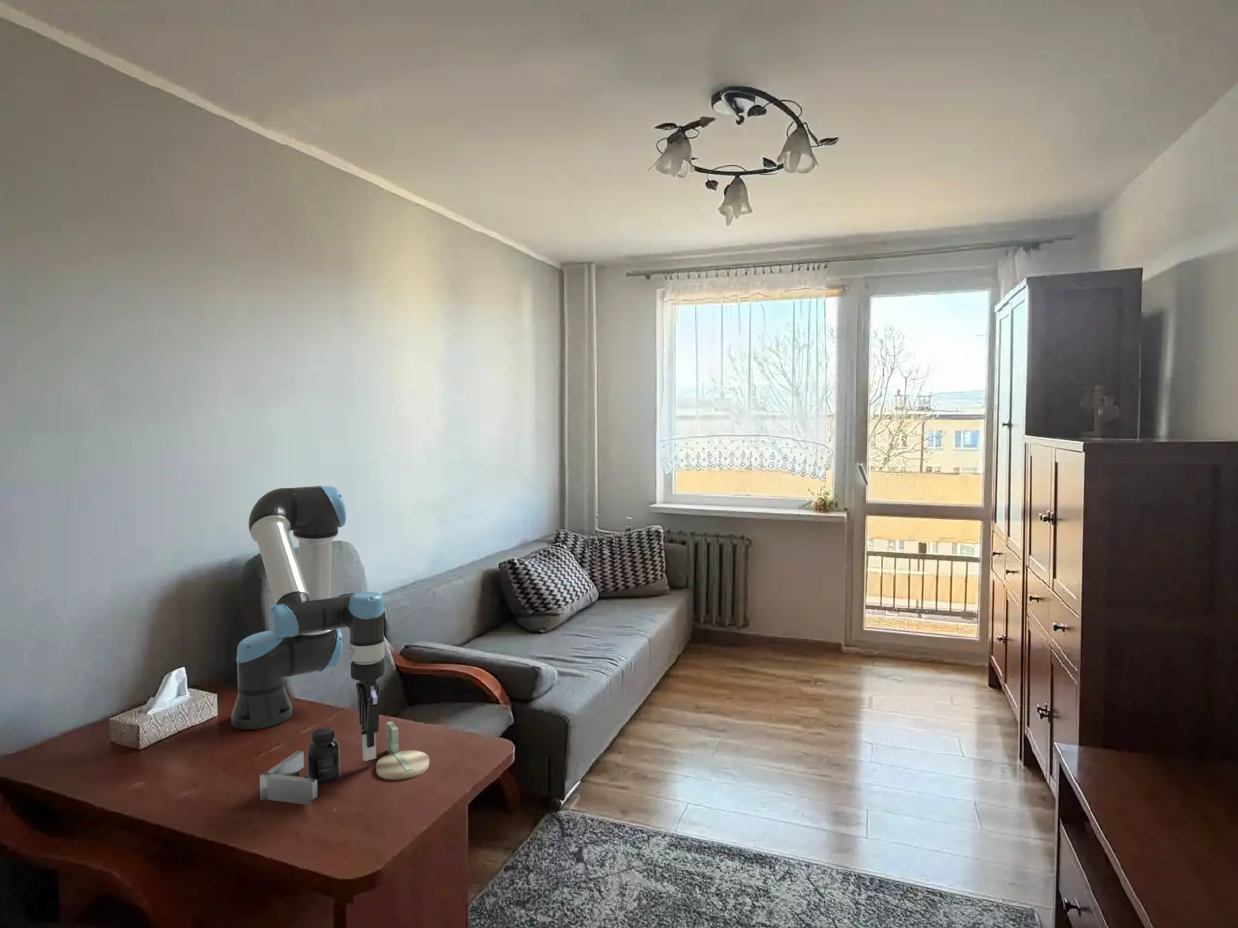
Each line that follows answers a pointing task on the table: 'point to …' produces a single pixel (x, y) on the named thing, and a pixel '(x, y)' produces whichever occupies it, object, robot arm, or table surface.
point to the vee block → (288, 782)
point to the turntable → (400, 759)
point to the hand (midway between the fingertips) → (369, 758)
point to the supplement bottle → (323, 756)
